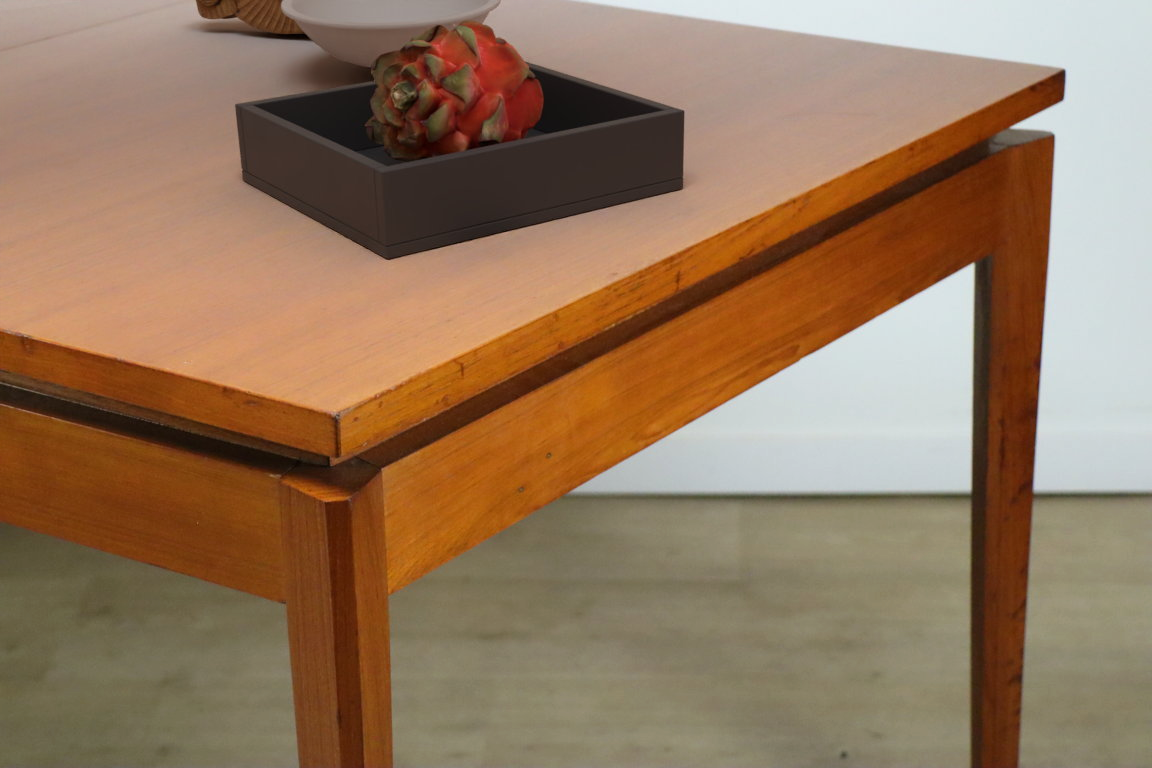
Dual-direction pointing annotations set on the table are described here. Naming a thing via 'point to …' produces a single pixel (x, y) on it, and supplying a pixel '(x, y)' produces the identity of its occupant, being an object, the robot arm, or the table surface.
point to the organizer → (459, 164)
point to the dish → (377, 23)
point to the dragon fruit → (452, 94)
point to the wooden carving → (251, 14)
